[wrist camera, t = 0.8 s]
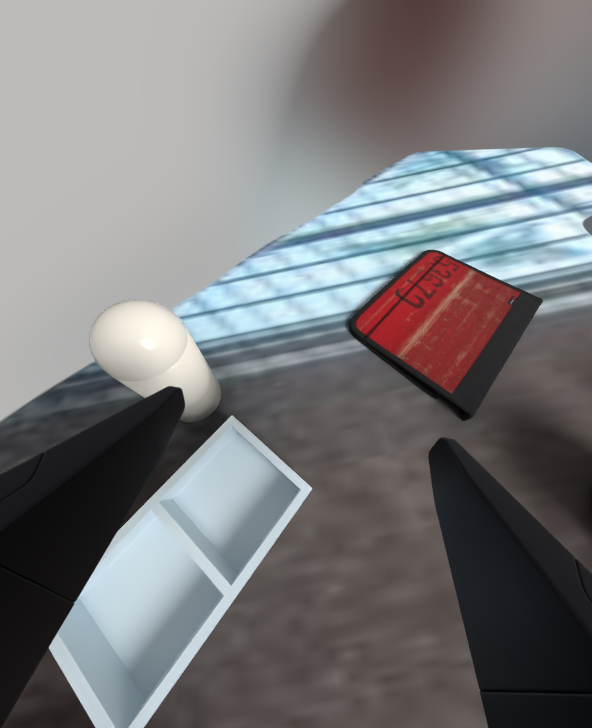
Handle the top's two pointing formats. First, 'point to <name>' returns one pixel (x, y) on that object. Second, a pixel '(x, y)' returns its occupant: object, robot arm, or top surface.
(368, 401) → the top surface
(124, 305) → the cream rounded cylinder
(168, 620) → the divided tray
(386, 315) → the binder
